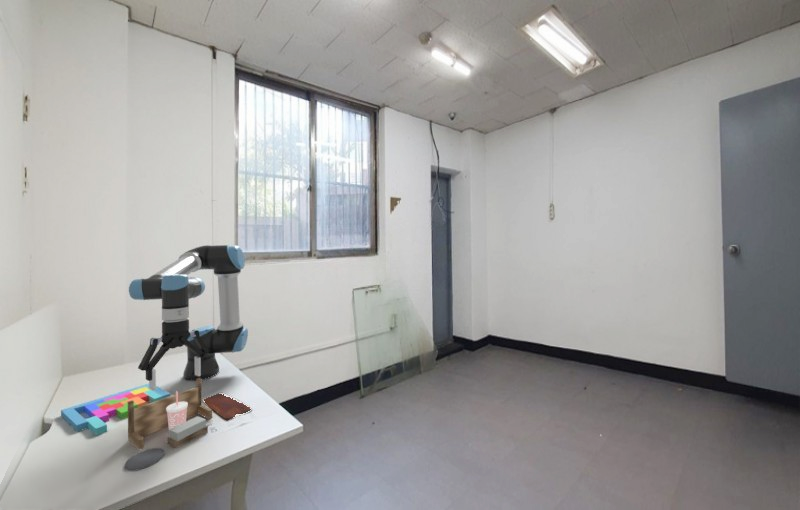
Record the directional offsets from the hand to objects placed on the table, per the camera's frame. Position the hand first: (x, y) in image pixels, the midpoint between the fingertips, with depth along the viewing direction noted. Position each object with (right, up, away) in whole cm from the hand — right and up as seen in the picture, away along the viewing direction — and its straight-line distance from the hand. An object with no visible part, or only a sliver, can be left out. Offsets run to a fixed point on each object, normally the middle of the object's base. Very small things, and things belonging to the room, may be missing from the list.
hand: (176, 382), depth 107 cm
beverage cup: (0, -17, +1) cm, 18 cm away
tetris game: (-32, -18, +15) cm, 40 cm away
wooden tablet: (+6, -18, +19) cm, 27 cm away
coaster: (+1, -18, -14) cm, 22 cm away
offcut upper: (+6, -15, -3) cm, 17 cm away
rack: (-3, -17, +2) cm, 18 cm away
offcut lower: (+6, -18, -3) cm, 19 cm away
